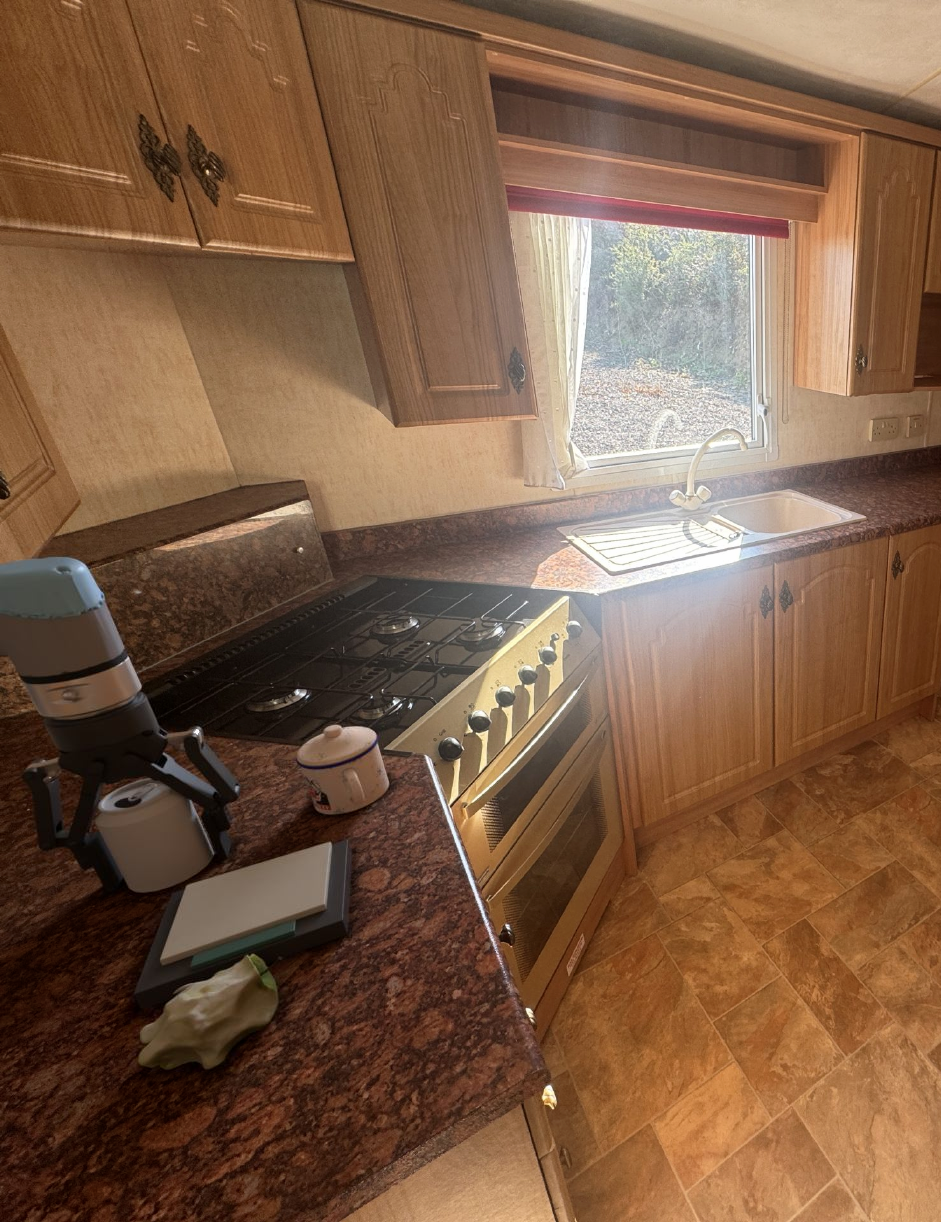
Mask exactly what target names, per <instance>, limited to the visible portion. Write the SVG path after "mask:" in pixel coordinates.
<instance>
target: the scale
mask: <svg viewBox="0 0 941 1222" xmlns="http://www.w3.org/2000/svg"><path fill="white" fill-rule="evenodd" d="M352 861H353V851H352V848H351V844H350V842H349V840H348V839H344V840H342V841H337V842H335V843H332V842H331V841H328V842H325V843H320V844H317V845H315V846H312V847H308V848H304V849H302V850H297V851H294V852H292V853H288V854H285V855H282V856H277V857H274V858H272V859H269V860H268V859H267V860H265V861H262V862H259V863H255V864H252V865H249V866H245V867H241V868H239V869H235V870H232V871H228V872H226V873H221V874H218V875H215V876H212V877H209V878H206V879H202V880H199V881H196V882H192V883H188V884H187V885H186V886H185V887H184V889H181V890H177V891H174V892H171V895H170V896H169V900H168V902H167V905H166V907H165V910H164V912H163V914H162V918H161V921H160V923H159V926H158V928H157V931H156V934H155V936H154V939H153V941H152V944H151V947H150V949H149V951H148V954H147V958H146V959H145V963H144V966H143V967H142V971H141V973H140V977H139V978H138V982H137V984H136V987H135V988H134V989H135V990H134V991H133V997H134V999H135V1000H136V1001H137V1004H138V1005H139V1007H140V1009H141V1010H145V1009H148V1008H151V1007H153V1006H156V1005H158V1004H162V1003H165V1002H168V1001H171V1000H172V999H173V998H175V997H176V996H177V995H178V994H180V993H181V992H183V991H184V990H183V991H180V992H177V993H175V994H174V992H175V991H176V990H177V989H179V988H181V987H183V986H185V985H187V984H191V983H196V982H202V981H207V980H209V979H211V978H212V977H213V976H214V975H215V974H216V973H217V972H219V971H223V970H227V969H229V968H231V967H233V966H234V965H235V964H237V963H239V962H240V961H242V960H243V959H244V957H245V956H246V955H248V956H249V957H250V956H251V954H255V955H256V956H258V957H259V958H260V959H262V960H263V961H264V962H265V964H266V965H268V964H271V963H275V962H276V960H277V959H278V958H279V957H282V959H284V958H287V957H290V956H292V955H295V954H299V953H301V952H304V951H307V950H309V949H311V948H315V947H317V946H320V945H322V944H325V943H329V942H330V941H334V940H336V939H339V938H342V937H344V936H347V935H348V934H349V918H350V901H351V883H352V882H351V881H352V880H351V879H352Z"/></svg>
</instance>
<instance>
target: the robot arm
mask: <svg viewBox="0 0 941 1222" xmlns="http://www.w3.org/2000/svg"><path fill="white" fill-rule="evenodd" d="M0 657H8V658H9V659H10V661H11V663H12V665H13V667H14V668H15V670H16V672H17V675H18V677H19V679H20V680H21V681H22V683H23V685H24V688H25V689H26V692H27V693H28V696H29V697H30V700H31V701H32V703H33V705H34V707H35V709H36V711H37V713H38V714H39V715H40V716H42V717H45V718H44V719H43V726H44V727H45V729H46V731H47V732H48V734H49V737H50V738H51V740H52V742H53V744H54V746H55V748H56V749H57V750H58V752H59V754H58V757H55V758H51V759H49V760H45V759H44V758H43V759H42V758H38V759H35V760H33V761H31V763H30V764H29V765H28V766H27V768H26V769H25V770H24V771H23V772H22V773H21V776H20V778H21V780H22V781H23V782H24V783H25V784H26V786H27V787H28V788H29V789H30V790H31V794H32V796H31V797H32V803H33V810H34V811H33V812H34V819H35V827H36V835H37V844H38V848H39V850H41V851H43V852H48V851H53V850H54V849H56V848H57V849H58V848H65V849H68V850H70V851H71V853H72V854H73V857H74V859H75V860H76V862H77V864H78V866H79V868H81V869H82V870H84V871H87V870H90V869H93V870H94V872H95V873H96V876H97V877H98V879H99V881H100V882H101V884H102V886H103V888H104V891H105V892H106V893H107V894H109V893H113V892H116V891H117V890H118V888H119V886H120V884H121V882H122V879H124V877H123V875H122V874H121V872H120V870H119V868H118V866H117V864H116V862H115V860H114V858H113V856H112V854H111V852H110V850H109V848H108V846H107V844H106V843H105V841H104V839H103V837H102V835H101V833H100V831H96V832H93V833H91V834H90V832H91V831H92V825H93V822H94V820H95V816H96V812H97V810H98V804H99V803H100V798H101V796H102V792H103V789H104V786H105V785H106V786H109V785H113V784H117V783H119V782H121V781H124V780H130V779H131V780H132V779H133V780H134V779H139V778H144V777H147V778H150V779H152V780H154V781H160V782H162V783H163V784H165V785H167V786H168V787H170V788H171V789H173V790H175V791H176V792H178V793H180V794H181V795H183V796H184V797H186V798H188V799H189V800H191V801H192V803H193V804H195V805H197V806H199V807H201V808H202V809H203V810H202V811H201V815H200V820H201V821H202V822H201V823H202V825H203V827H204V829H205V832H206V834H207V836H208V839H209V841H210V843H211V844H212V846H213V847H212V848H214V849H213V850H214V851H215V854H216V856H217V858H218V860H219V861H221V860H225V859H227V858H228V857H229V853H230V850H231V847H232V842H231V840H230V837H229V835H228V833H227V831H229V830H230V829H231V826H232V823H233V817H232V815H231V813H230V810H229V808H228V804H230V803H235V802H237V801H238V799H239V797H240V793H241V791H242V784H241V783H240V782H239V781H238V780H237V778H236V777H235V775H233V773H232V772H231V771H230V770H229V769H228V768H227V766H226V765H225V764H224V763H223V761H221V759H219V757H218V756H217V755H216V754H215V752H214V751H213V750H212V749H211V748H210V746H209V745H208V744H207V743H206V739H205V736H204V731H203V728H202V727H200V726H197V725H195V726H194V725H193V726H191V727H189V729H187V730H186V731H180V732H170V733H169V732H167V731H166V730H164V729H163V728H162V727H161V726H160V725H159V723H158V720H157V718H156V715H155V713H154V711H153V709H152V707H151V704H150V702H149V699H148V697H147V695H146V693H144V692H142V691H141V690H142V687H143V686H142V683H141V681H140V679H139V676H138V675H137V672H136V670H135V668H134V666H133V664H132V661H131V659H130V657H129V655H128V653H127V650H126V649H125V645H124V643H123V641H122V639H121V635H120V633H119V632H118V629H117V627H116V624H115V622H114V620H113V617H112V615H111V612H110V610H109V608H108V606H107V603H106V598H105V594H104V592H103V591H101V589H100V587H99V586H98V584H97V583H96V581H95V579H94V576H93V575H92V573H91V571H90V570H89V568H88V567H87V565H86V564H85V563H84V562H82V561H80V560H78V559H76V558H72V557H66V556H48V557H43V558H27V559H19V560H15V561H9V562H4V563H0ZM168 746H174V747H175V748H176V749H177V751H179V752H180V753H185V755H186V757H187V759H188V760H189V761H190V762H191V763H192V764H193V766H194V767H195V768H196V769H197V771H198V772H199V773H200V774H202V776H203V777H204V778H205V780H207V782H208V783H207V782H206V781H205V780H203V779H201V778H199V777H198V775H197V776H196V775H195V774H193V773H192V772H190V771H189V770H187V769H186V768H184V767H183V766H181V765H179V764H178V763H177V762H176V761H175V759H174V758H173V757H172V756H170V755H169V754H167V753H166V752H165V751H166V749H167V747H168ZM62 770H65V771H66V772H70V773H72V774H74V775H76V776H79V777H81V778H83V782H82V785H81V789H80V792H79V798H78V802H77V806H76V809H75V812H74V816H73V818H72V822H71V826H70V829H65V825H64V817H63V816H64V815H63V808H62V798H61V789H60V781H59V777H60V776H61V774H62Z"/></svg>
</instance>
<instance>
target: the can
mask: <svg viewBox="0 0 941 1222" xmlns="http://www.w3.org/2000/svg"><path fill="white" fill-rule="evenodd" d="M97 810H98V812H97V814H96V815H95V816H94V823H95V825H96V827H97V829H98V832H100V833H101V835H102V837H103V839H104V841H105V843H106V844H107V846H108V848H109V850H110V852H111V854H112V856H113V858H114V860H115V862H116V864H117V866H118V868H119V870H120V872H121V874H122V875H123V879H124V882H125V883H126V886H127V887H128V889H129V890H131V891H132V892H135V893H145V894H146V893H151V892H157V891H161V890H164V889H167V888H172V887H173V886H175V885H178V884H181V883H182V882H185V881H187V880H189V879H190V878H192V877H193V876H195V875H197V874H198V873H200V872H201V871H202V870H204V869H205V868H206V867H207V866H208V865H209V863H211V861H212V860H213V858H214V855H215V852H214V849H213V847H212V845H211V844H212V843H211V841H210V839H209V837H208V834H207V832H206V830H205V827H204V825H203V823H202V822H201V818H200V817H199V815H198V812H197V810H196V808H195V805H194V802H192V801H191V800H189V799H188V798H186V797H184V796H183V795H181V794H180V793H178V792H176V791H175V790H173V789H171V788H170V787H168V786H167V785H165V784H163V783H162V782H160V781H154V780H152V779H150V778H149V777H147V778H144V779H140V780H137V781H134V782H131V783H128V784H126V785H123V786H121V787H118V788H117V789H115V790H114V791H111V792H110V793H108V794H107V795H105V796H104V797H103V798H102V799H101V800H99V802H98V806H97Z"/></svg>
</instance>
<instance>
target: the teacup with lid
mask: <svg viewBox="0 0 941 1222" xmlns="http://www.w3.org/2000/svg"><path fill="white" fill-rule="evenodd" d="M378 742H379V735H378V734H377V733H376V732H375V731H374V730H373V729H371V728H369V727H366V726H356V725H355V726H346V727H342V726H341V725H340V724H331V725H329V726H327V727H325V728H324V729H323V733H321V734H319V735H317V736H315V737H313V738H311V739H309V740H307V741H306V742H305V743H304V744H302V745H301V747H300V748H299V749H298V751H297V752H296V756H295V757H296V758H295V761H296V764H297V766H299V767H300V769H301V773H302V774H303V775H302V776H303V777H304V781H305V784H306V786H307V789H308V792H309V794H310V797H311V800H312V803H313V806H314V809H315V810H316V811H317V812H319V813H321V814H324V815H342V814H347V813H350V812H354V811H357V810H360V809H363V808H364V807H366V806H368V805H371V804H372V803H374V802H375V801H378V799H380V798H381V797H382V796H383V795H384V794H385V793H386V792H387V790H388V789H389V786H390V781H389V778H388V774H387V771H386V767H385V764H384V761H383V757H382V754H381V750H380V747H379V743H378Z"/></svg>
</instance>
